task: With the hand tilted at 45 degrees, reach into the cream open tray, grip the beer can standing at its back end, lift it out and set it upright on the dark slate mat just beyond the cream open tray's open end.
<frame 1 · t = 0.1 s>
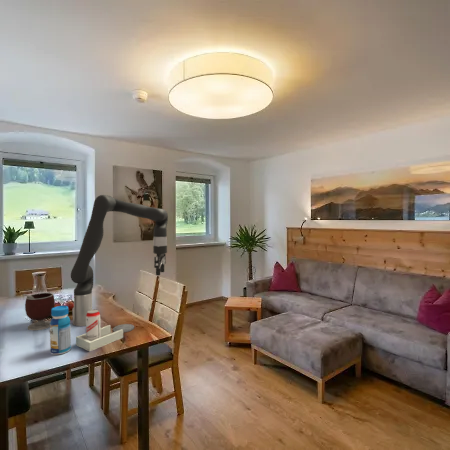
hand: (160, 273, 163), 29 cm above the table, tool pointing down, fingers open, 8 cm apart
mat: (123, 328, 159), on the table
mate gourd: (39, 326, 162), on the table
cream open tray: (100, 341, 143), on the table
beer can: (93, 344, 140), resting in cream open tray
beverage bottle: (60, 351, 133), on the table
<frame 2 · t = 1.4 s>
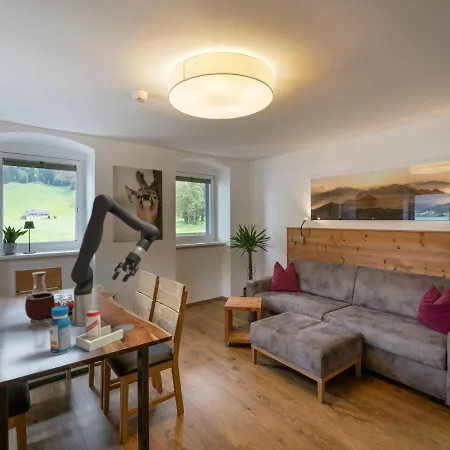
hand: (118, 280, 151), 28 cm above the table, tool tilted 45°, fingers open, 8 cm apart
nothing on the table moved.
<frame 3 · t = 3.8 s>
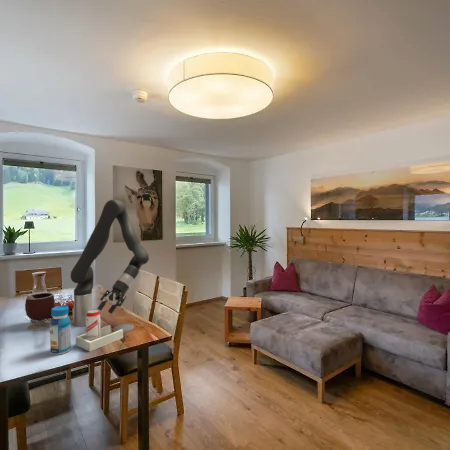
hand: (104, 311, 145), 14 cm above the table, tool tilted 45°, fingers open, 8 cm apart
nothing on the table moved.
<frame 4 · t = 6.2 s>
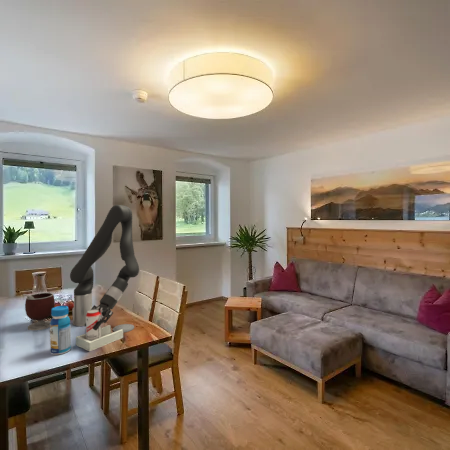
hand: (90, 327, 139), 8 cm above the table, tool tilted 45°, fingers closed on beer can, 6 cm apart
beer can: (93, 344, 140), resting in cream open tray, touching gripper
everything else where it was.
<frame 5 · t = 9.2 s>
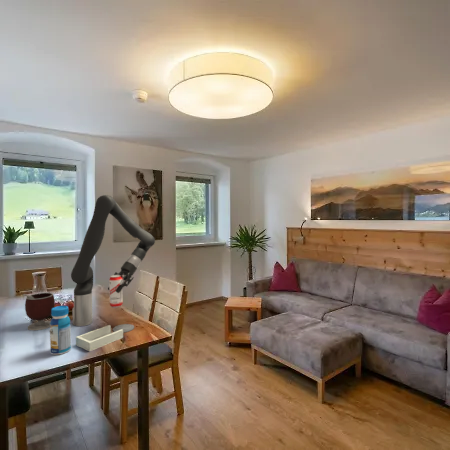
hand: (113, 291, 152), 22 cm above the table, tool tilted 45°, fingers closed on beer can, 6 cm apart
beer can: (116, 306, 153), point 14 cm above the table, touching gripper
everything else where it was.
when the fingers open (10 cm above the table, at t = 12.5 s): beer can drops 1 cm, resting on mat.
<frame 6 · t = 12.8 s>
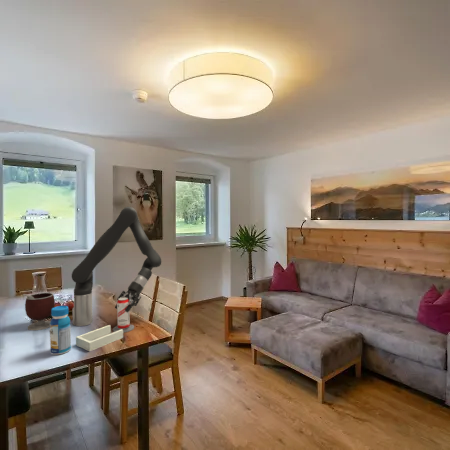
hand: (121, 310, 157), 11 cm above the table, tool tilted 45°, fingers open, 8 cm apart
beer can: (123, 327, 159), resting on mat
everything else where it was.
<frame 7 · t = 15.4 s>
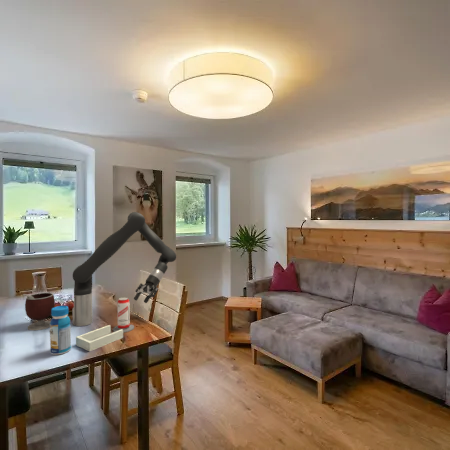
hand: (139, 301, 168), 12 cm above the table, tool tilted 45°, fingers open, 8 cm apart
nothing on the table moved.
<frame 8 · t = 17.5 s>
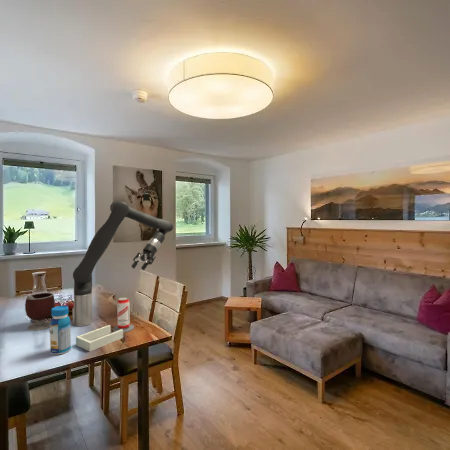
hand: (137, 268, 170), 31 cm above the table, tool tilted 45°, fingers open, 8 cm apart
nothing on the table moved.
at the end: beer can 0.3 cm from the mat (horizontally); beer can tilted 0°; the gripper is holding nothing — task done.
